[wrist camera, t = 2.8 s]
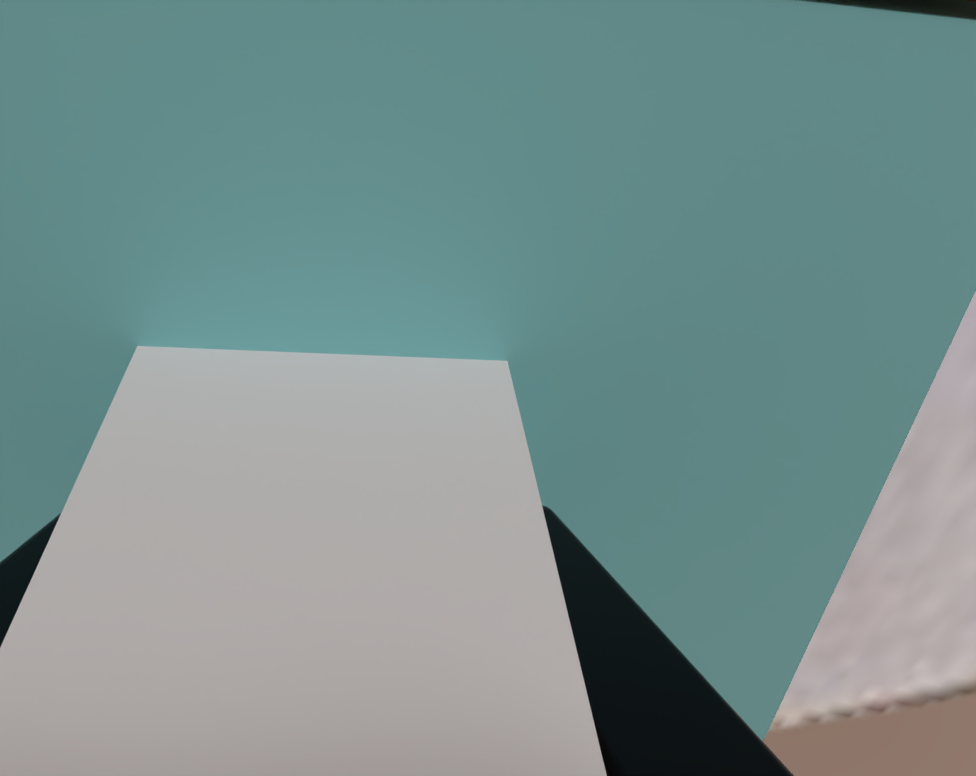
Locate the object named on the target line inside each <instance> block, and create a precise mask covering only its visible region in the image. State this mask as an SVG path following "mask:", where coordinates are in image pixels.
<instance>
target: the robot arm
mask: <svg viewBox="0 0 976 776" xmlns="http://www.w3.org/2000/svg"><path fill="white" fill-rule="evenodd" d="M542 507H543V512H544V516H545V520H546V524H547V528H548V533H549V537H550V541H551V545H552V549H553V553H554V558H555V562H556V566H557V570H558V574H559V578H560V583H561V587H562V591H563V595H564V599H565V603H566V608H567V612H568V616H569V620H570V624H571V629H572V633H573V637H574V641H575V645H576V649H577V654H578V658H579V662H580V666H581V670H582V674H583V679H584V683H585V687H586V691H587V695H588V699H589V704H590V708H591V712H592V716H593V720H594V725H595V729H596V733H597V737H598V741H599V745H600V750H601V754H602V758H603V762H604V766H605V770H606V775H607V776H794V775H793V774H792V773H791V772H790V771H789V770H788V769H787V768H786V767H785V766H784V764H783V763H782V762H781V761H780V760H779V759H778V758H777V757H776V756H775V755H774V753H773V752H772V751H771V750H770V749H769V748H768V747H767V746H766V745H765V744H764V742H763V741H762V740H761V739H760V738H759V737H758V736H757V735H756V734H755V732H754V731H753V730H752V729H751V728H750V727H749V726H748V725H747V724H746V723H745V721H744V720H743V719H742V718H741V717H740V716H739V715H738V714H737V713H736V712H735V710H734V709H733V708H732V707H731V706H730V705H729V704H728V703H727V702H726V701H725V700H724V698H723V697H722V696H721V695H720V694H719V693H718V692H717V691H716V690H715V689H714V687H713V686H712V685H711V684H710V683H709V682H708V681H707V680H706V679H705V678H704V676H703V675H702V674H701V673H700V672H699V671H698V670H697V669H696V668H695V667H694V665H693V664H692V663H691V662H690V661H689V660H688V659H687V658H686V657H685V656H684V654H683V653H682V652H681V651H680V650H679V649H678V648H677V647H676V646H675V645H674V644H673V642H672V641H671V640H670V639H669V638H668V637H667V636H666V635H665V634H664V633H663V631H662V630H661V629H660V628H659V627H658V626H657V625H656V624H655V623H654V622H653V620H652V619H651V618H650V617H649V616H648V615H647V614H646V613H645V612H644V611H643V609H642V608H641V607H640V606H639V605H638V604H637V603H636V602H635V601H634V600H633V598H632V597H631V596H630V595H629V594H628V593H627V592H626V591H625V590H624V589H623V587H622V586H621V585H620V584H619V583H618V582H617V581H616V580H615V579H614V578H613V577H612V575H611V574H610V573H609V572H608V571H607V570H606V569H605V568H604V567H603V566H602V564H601V563H600V562H599V561H598V560H597V559H596V558H595V557H594V556H593V555H592V553H591V552H590V551H589V550H588V549H587V548H586V547H585V546H584V545H583V544H582V542H581V541H580V540H579V539H578V538H577V537H576V536H575V535H574V534H573V533H572V531H571V530H570V529H569V528H568V527H567V526H566V525H565V524H564V523H563V522H562V520H561V519H560V518H559V517H558V516H557V515H556V514H555V513H554V512H553V511H552V510H551V509H550V508H548V507H546V506H543V505H542ZM61 513H62V512H61ZM61 513H60V514H59V515H58V516H56V517H55V518H54V519H53V520H51V521H50V522H49V523H48V524H47V525H45V526H44V527H43V528H42V529H40V530H39V531H38V532H37V533H35V534H34V535H33V536H32V537H31V538H29V539H28V540H27V541H26V542H24V543H23V544H22V545H21V546H19V547H18V548H17V549H16V550H15V551H13V552H12V553H11V554H10V555H8V556H7V557H6V558H5V559H4V560H2V561H1V562H0V647H1V645H2V643H3V640H4V638H5V636H6V634H7V632H8V629H9V627H10V625H11V623H12V621H13V618H14V616H15V614H16V612H17V610H18V607H19V605H20V603H21V601H22V599H23V596H24V594H25V592H26V590H27V588H28V585H29V583H30V581H31V579H32V577H33V574H34V572H35V570H36V568H37V566H38V563H39V561H40V559H41V557H42V555H43V552H44V550H45V548H46V546H47V544H48V541H49V539H50V537H51V535H52V533H53V530H54V528H55V526H56V524H57V522H58V519H59V517H60V515H61Z"/></svg>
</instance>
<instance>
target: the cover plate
mask: <svg viewBox="0 0 976 776" xmlns="http://www.w3.org/2000/svg"><path fill="white" fill-rule="evenodd" d="M975 291H976V2H973V1H964V0H0V562H1V561H2V560H4V559H5V558H6V557H7V556H8V555H10V554H11V553H12V552H13V551H15V550H16V549H17V548H18V547H19V546H21V545H22V544H23V543H24V542H26V541H27V540H28V539H29V538H31V537H32V536H33V535H34V534H35V533H37V532H38V531H39V530H40V529H42V528H43V527H44V526H45V525H47V524H48V523H49V522H50V521H51V520H53V519H54V518H55V517H56V516H58V515H59V514H60V513H61V512H62V513H61V515H60V517H59V519H58V522H57V524H56V526H55V528H54V530H53V533H52V535H51V537H50V539H49V541H48V544H47V546H46V548H45V550H44V552H43V555H42V557H41V559H40V561H39V563H38V566H37V568H36V570H35V572H34V574H33V577H32V579H31V581H30V583H29V585H28V588H27V590H26V592H25V594H24V596H23V599H22V601H21V603H20V605H19V607H18V610H17V612H16V614H15V616H14V618H13V621H12V623H11V625H10V627H9V629H8V632H7V634H6V636H5V638H4V640H3V643H2V645H1V647H0V776H607V775H606V770H605V766H604V762H603V758H602V754H601V750H600V745H599V741H598V737H597V733H596V729H595V725H594V720H593V716H592V712H591V708H590V704H589V699H588V695H587V691H586V687H585V683H584V679H583V674H582V670H581V666H580V662H579V658H578V654H577V649H576V645H575V641H574V637H573V633H572V629H571V624H570V620H569V616H568V612H567V608H566V603H565V599H564V595H563V591H562V587H561V583H560V578H559V574H558V570H557V566H556V562H555V558H554V553H553V549H552V545H551V541H550V537H549V533H548V528H547V524H546V520H545V516H544V512H543V507H542V505H543V506H546V507H548V508H550V509H551V510H552V511H553V512H554V513H555V514H556V515H557V516H558V517H559V518H560V519H561V520H562V522H563V523H564V524H565V525H566V526H567V527H568V528H569V529H570V530H571V531H572V533H573V534H574V535H575V536H576V537H577V538H578V539H579V540H580V541H581V542H582V544H583V545H584V546H585V547H586V548H587V549H588V550H589V551H590V552H591V553H592V555H593V556H594V557H595V558H596V559H597V560H598V561H599V562H600V563H601V564H602V566H603V567H604V568H605V569H606V570H607V571H608V572H609V573H610V574H611V575H612V577H613V578H614V579H615V580H616V581H617V582H618V583H619V584H620V585H621V586H622V587H623V589H624V590H625V591H626V592H627V593H628V594H629V595H630V596H631V597H632V598H633V600H634V601H635V602H636V603H637V604H638V605H639V606H640V607H641V608H642V609H643V611H644V612H645V613H646V614H647V615H648V616H649V617H650V618H651V619H652V620H653V622H654V623H655V624H656V625H657V626H658V627H659V628H660V629H661V630H662V631H663V633H664V634H665V635H666V636H667V637H668V638H669V639H670V640H671V641H672V642H673V644H674V645H675V646H676V647H677V648H678V649H679V650H680V651H681V652H682V653H683V654H684V656H685V657H686V658H687V659H688V660H689V661H690V662H691V663H692V664H693V665H694V667H695V668H696V669H697V670H698V671H699V672H700V673H701V674H702V675H703V676H704V678H705V679H706V680H707V681H708V682H709V683H710V684H711V685H712V686H713V687H714V689H715V690H716V691H717V692H718V693H719V694H720V695H721V696H722V697H723V698H724V700H725V701H726V702H727V703H728V704H729V705H730V706H731V707H732V708H733V709H734V710H735V712H736V713H737V714H738V715H739V716H740V717H741V718H742V719H743V720H744V721H745V723H746V724H747V725H748V726H749V727H750V728H751V729H752V730H753V731H754V732H755V734H756V735H757V736H758V737H759V738H760V739H761V740H762V741H763V740H764V738H765V736H766V734H767V731H768V729H769V727H770V725H771V723H772V721H773V719H774V717H775V715H776V712H777V710H778V708H779V706H780V704H781V702H782V700H783V698H784V695H785V693H786V691H787V689H788V687H789V685H790V683H791V681H792V679H793V676H794V674H795V672H796V670H797V668H798V666H799V664H800V662H801V659H802V657H803V655H804V653H805V651H806V649H807V647H808V645H809V642H810V640H811V638H812V636H813V634H814V632H815V630H816V628H817V626H818V623H819V621H820V619H821V617H822V615H823V613H824V611H825V609H826V606H827V604H828V602H829V600H830V598H831V596H832V594H833V592H834V589H835V587H836V585H837V583H838V581H839V579H840V577H841V575H842V573H843V570H844V568H845V566H846V564H847V562H848V560H849V558H850V556H851V553H852V551H853V549H854V547H855V545H856V543H857V541H858V539H859V537H860V534H861V532H862V530H863V528H864V526H865V524H866V522H867V520H868V517H869V515H870V513H871V511H872V509H873V507H874V505H875V503H876V500H877V498H878V496H879V494H880V492H881V490H882V488H883V486H884V484H885V481H886V479H887V477H888V475H889V473H890V471H891V469H892V467H893V464H894V462H895V460H896V458H897V456H898V454H899V452H900V450H901V447H902V445H903V443H904V441H905V439H906V437H907V435H908V433H909V431H910V428H911V426H912V424H913V422H914V420H915V418H916V416H917V414H918V411H919V409H920V407H921V405H922V403H923V401H924V399H925V397H926V395H927V392H928V390H929V388H930V386H931V384H932V382H933V380H934V378H935V375H936V373H937V371H938V369H939V367H940V365H941V363H942V361H943V358H944V356H945V354H946V352H947V350H948V348H949V346H950V344H951V342H952V339H953V337H954V335H955V333H956V331H957V329H958V327H959V325H960V322H961V320H962V318H963V316H964V314H965V312H966V310H967V308H968V305H969V303H970V301H971V299H972V297H973V295H974V293H975Z"/></svg>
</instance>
